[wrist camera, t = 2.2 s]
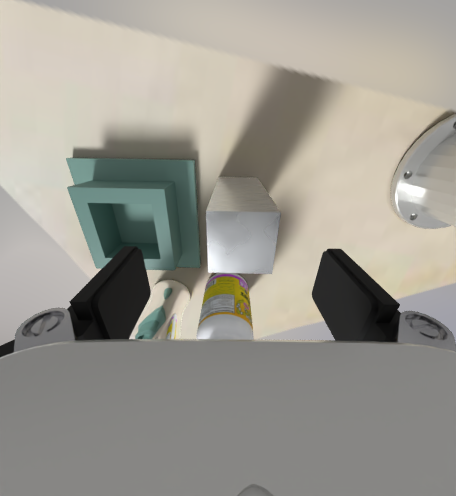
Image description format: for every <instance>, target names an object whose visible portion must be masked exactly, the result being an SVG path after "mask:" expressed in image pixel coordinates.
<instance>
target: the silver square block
mask: <svg viewBox="0 0 456 496" xmlns="http://www.w3.org/2000/svg"><path fill="white" fill-rule="evenodd" d="M280 216H281V212H280V210H279V209H278V207H277V206H276V204H275V203H274V201H273V200H272V198H271V197H270V195H269V194H268V192H267V191H266V190H265V188H264V187H263V185H262V184H261V182H260V181H259V179H258V178H257V177H219V178H218V180H217V183H216V186H215V188H214V191H213V193H212V196H211V199H210V201H209V204H208V207H207V209H206V227H207V253H208V272H211V273H252V274H272V270H273V263H274V256H275V250H276V243H277V236H278V229H279V222H280Z"/></svg>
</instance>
